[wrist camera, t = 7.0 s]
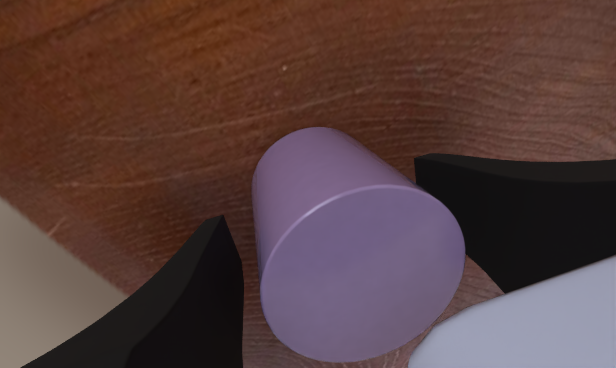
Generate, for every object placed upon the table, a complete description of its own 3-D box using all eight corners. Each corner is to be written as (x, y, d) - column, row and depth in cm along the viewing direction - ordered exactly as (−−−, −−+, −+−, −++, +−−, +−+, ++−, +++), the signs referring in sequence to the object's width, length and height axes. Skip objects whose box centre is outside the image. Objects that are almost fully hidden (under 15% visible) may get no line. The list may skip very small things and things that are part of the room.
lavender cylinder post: (265, 254, 14) (281, 385, 8) (237, 140, 12) (236, 214, 6) (376, 228, 14) (460, 333, 9) (370, 115, 12) (474, 163, 7)
